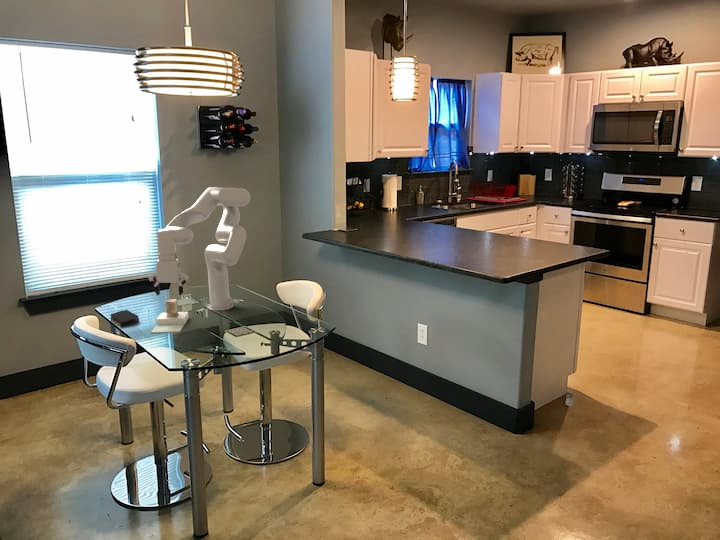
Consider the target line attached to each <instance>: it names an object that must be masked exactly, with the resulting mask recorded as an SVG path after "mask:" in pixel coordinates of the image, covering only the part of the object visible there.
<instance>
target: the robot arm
mask: <svg viewBox="0 0 720 540" xmlns="http://www.w3.org/2000/svg"><path fill="white" fill-rule="evenodd" d="M250 201H251V193H250V192H249V191H248V190H247V189H245V188H239V187H237V188H236V187H220V186H219V187H218V186H215V187H214V186H211V187H208V188H207V189H205V190H204V192H203V193H202V194H201V195H200V196H199V198H198V199H196V201H195V203H194V204H193V205H192V206H191V207H189V208H187V209H185V210H184V211H182V212H180V213H179V214H177V215H175V216H174V217H173V218H172V220H171V221H170V222H169V223H168V224H167V225H166V227H165V228H160V229H158V230H157V231H156V238H157V256H158V257H157V260H156V266H155V272H154V273H152V274H150V275H148V277H147V278H148V280H149V282H150V283H151V284H152V285H153V286H154V289H155V290H154V292H155V294H156V296H159V295H160V294H161V289H160V288H161V287H160V285H159V284H160V283H161V284H162V283H166V284H167V283H173V284H174V283H177V284H178V295H179V296H181V295H183V293H184V285H185V284H186V283H187V282H188V280H189V275H188V274H185V273H184V272H181V265H180V260H179V258H180V257H181V255H180V254H178V253H177V247H176V246H177V245H187V244H189V243H191V242H192V241H193V239H194V235H195V234H194V232H193V231H192V230H191V229H190V228H189V226H191V225H194V224H197V223H201V222H204V221H206V220H207V219H208V218H209V216H210V215H211V214H212V213H213V211H214V210H216V208H217V207H220V206H221V207H222V210H223V211H222V212H223V213H222V217H221V218H220V221H219V224H218V225H217V229H216V231H215V234H214V235H215V236H214V237H215V240H216V241H217V242H219V243H222V244H219V243H213V244H209V245H207V246H206V248H205V250H204V258H205V259H204V260H205V264H206V268H207V277H208V278H207V279H208V294H209V303H208V304H207V305H206V309H207V310H211V311H226V310H227V311H228V310H230V309H232V308H233V307H234V305H239V302H240V300H239V299H236V298H235V299H233V298H231V297H232V296H230V287H229V286H230V285H229V271H228V266H229V267H232V266H234V265H236V264H237V262H238V261H239V259H240V257H241V254H242V252H243V249H244V247H245V244H246V240H247V231H246V229H245V227H243V226H241V225H239V223H240V220H241V212H240V209H239V207H245V206H247V205H248V204H250ZM154 278H155V279H156V280H155V279H154ZM182 278H184V280H183V281H182Z"/></svg>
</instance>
